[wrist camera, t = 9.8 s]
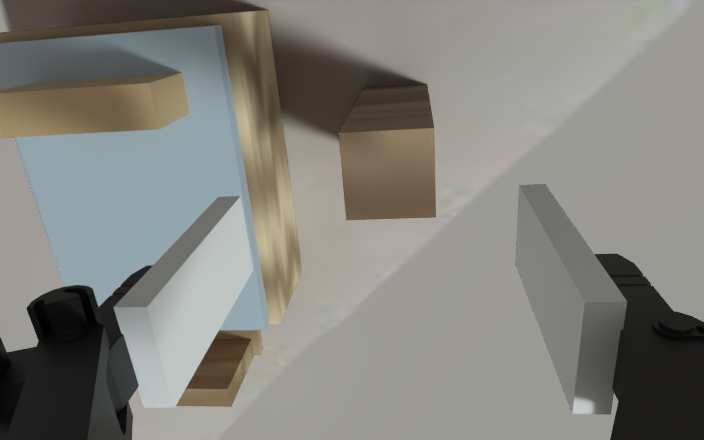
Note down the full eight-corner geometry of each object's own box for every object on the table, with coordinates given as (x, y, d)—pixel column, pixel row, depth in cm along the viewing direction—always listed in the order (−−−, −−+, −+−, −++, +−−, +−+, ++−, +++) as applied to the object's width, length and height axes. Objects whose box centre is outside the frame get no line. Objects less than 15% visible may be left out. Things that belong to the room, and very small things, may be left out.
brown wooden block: (363, 88, 33) (338, 132, 22) (427, 84, 33) (434, 128, 22) (367, 149, 35) (346, 220, 24) (428, 146, 34) (435, 217, 23)
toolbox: (71, 26, 34) (-10, 33, 27) (267, 10, 32) (231, 12, 25) (157, 348, 43) (112, 409, 37) (311, 348, 41) (293, 412, 35)
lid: (-2, 43, 27) (-76, 51, 23) (221, 25, 25) (184, 29, 21) (87, 321, 33) (42, 367, 29) (269, 320, 32) (248, 368, 28)
